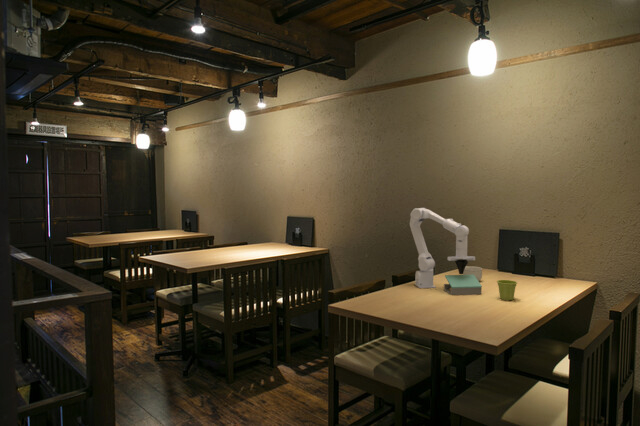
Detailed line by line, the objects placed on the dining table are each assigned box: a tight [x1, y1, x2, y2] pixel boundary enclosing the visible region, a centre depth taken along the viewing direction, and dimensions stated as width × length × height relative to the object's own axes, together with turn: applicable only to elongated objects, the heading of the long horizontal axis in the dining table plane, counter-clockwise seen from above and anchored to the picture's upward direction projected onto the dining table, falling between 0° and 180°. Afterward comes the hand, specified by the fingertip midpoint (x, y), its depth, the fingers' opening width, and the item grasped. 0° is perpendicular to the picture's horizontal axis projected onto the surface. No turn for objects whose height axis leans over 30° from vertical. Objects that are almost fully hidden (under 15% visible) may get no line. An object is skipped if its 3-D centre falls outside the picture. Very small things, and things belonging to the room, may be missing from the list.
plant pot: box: [496, 279, 518, 301], centre depth 211 cm, size 9×9×9 cm
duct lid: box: [444, 274, 483, 288], centre depth 223 cm, size 16×10×1 cm, turn 96°
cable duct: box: [443, 283, 483, 296], centre depth 224 cm, size 16×10×4 cm, turn 96°
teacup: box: [462, 265, 483, 282], centre depth 252 cm, size 14×11×8 cm
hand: (461, 273), depth 225 cm, fingers closed
